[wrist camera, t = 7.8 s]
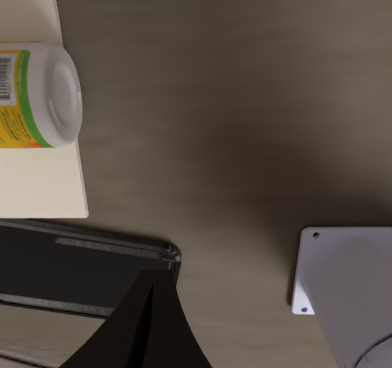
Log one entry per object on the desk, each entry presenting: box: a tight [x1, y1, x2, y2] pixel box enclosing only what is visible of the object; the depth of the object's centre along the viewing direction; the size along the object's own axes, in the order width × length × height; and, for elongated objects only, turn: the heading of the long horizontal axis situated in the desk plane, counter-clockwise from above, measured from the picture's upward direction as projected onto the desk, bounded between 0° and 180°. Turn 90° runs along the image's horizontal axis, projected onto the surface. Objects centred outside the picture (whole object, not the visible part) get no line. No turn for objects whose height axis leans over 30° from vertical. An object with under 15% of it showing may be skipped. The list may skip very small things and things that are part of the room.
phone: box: [0, 218, 181, 320], centre depth 25 cm, size 8×1×15 cm
